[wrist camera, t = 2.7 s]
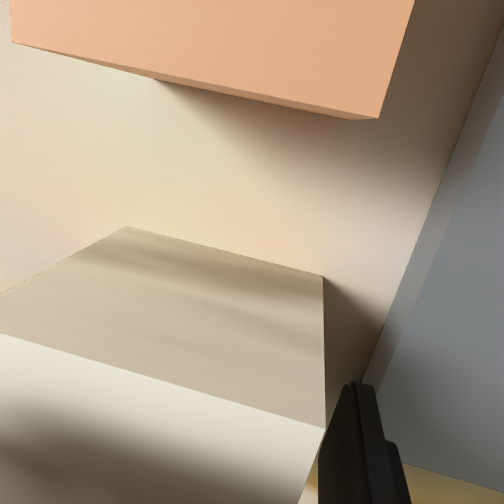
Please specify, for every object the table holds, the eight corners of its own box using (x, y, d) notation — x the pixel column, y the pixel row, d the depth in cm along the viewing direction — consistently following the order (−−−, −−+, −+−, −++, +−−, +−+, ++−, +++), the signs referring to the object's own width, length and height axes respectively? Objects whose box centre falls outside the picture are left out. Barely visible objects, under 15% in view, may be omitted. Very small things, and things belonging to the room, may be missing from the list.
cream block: (127, 225, 12) (-47, 319, 6) (322, 274, 11) (325, 429, 6) (117, 378, 14) (-15, 546, 9) (276, 426, 13) (246, 640, 8)
